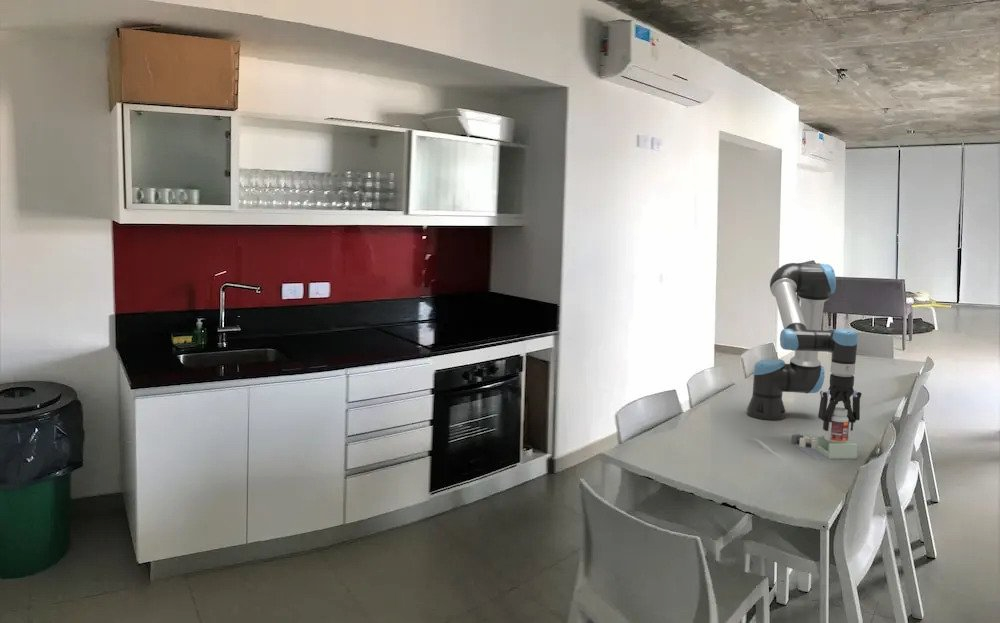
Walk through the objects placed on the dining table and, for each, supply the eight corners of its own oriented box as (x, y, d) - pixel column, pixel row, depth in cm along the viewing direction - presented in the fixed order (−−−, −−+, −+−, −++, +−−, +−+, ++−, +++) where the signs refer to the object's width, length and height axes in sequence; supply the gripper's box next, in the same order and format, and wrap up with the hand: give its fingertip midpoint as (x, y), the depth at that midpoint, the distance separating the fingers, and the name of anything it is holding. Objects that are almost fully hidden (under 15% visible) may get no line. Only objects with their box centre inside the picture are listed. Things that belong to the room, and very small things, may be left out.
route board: (789, 444, 267) (790, 433, 266) (829, 444, 268) (830, 433, 267) (814, 462, 248) (815, 450, 248) (857, 462, 249) (858, 450, 249)
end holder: (815, 449, 258) (816, 435, 257) (841, 449, 259) (843, 435, 258) (829, 458, 249) (830, 444, 248) (856, 458, 249) (857, 444, 248)
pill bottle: (845, 444, 249) (848, 412, 247) (826, 441, 252) (828, 409, 250) (847, 439, 254) (850, 408, 252) (828, 437, 257) (830, 405, 255)
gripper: (820, 376, 245) (815, 443, 249) (875, 376, 247) (869, 443, 250) (809, 371, 253) (805, 436, 256) (863, 372, 254) (857, 436, 257)
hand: (837, 439), depth 253 cm, fingers closed on pill bottle, 6 cm apart
